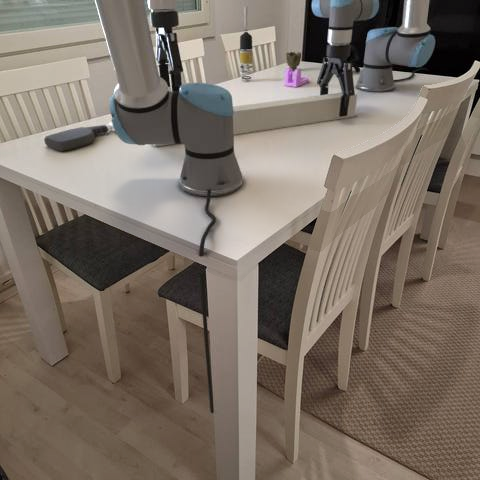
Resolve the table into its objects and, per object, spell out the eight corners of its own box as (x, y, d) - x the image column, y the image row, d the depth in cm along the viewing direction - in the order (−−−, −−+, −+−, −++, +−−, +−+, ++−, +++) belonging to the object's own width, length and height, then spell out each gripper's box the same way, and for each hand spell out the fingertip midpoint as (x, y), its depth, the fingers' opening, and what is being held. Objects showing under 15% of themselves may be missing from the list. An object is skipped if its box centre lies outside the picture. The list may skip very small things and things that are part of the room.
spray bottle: (43, 145, 135) (109, 126, 151) (63, 153, 129) (130, 132, 145) (40, 136, 134) (108, 117, 150) (60, 143, 128) (129, 123, 144)
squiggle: (349, 83, 219) (328, 64, 222) (365, 68, 218) (343, 49, 221) (351, 72, 208) (328, 52, 210) (368, 57, 207) (344, 36, 210)
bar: (154, 146, 133) (151, 122, 129) (150, 141, 137) (147, 117, 133) (354, 116, 155) (357, 95, 151) (346, 112, 160) (348, 91, 156)
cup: (283, 70, 221) (283, 53, 217) (288, 68, 227) (289, 51, 222) (297, 72, 218) (298, 54, 214) (302, 69, 224) (303, 52, 219)
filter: (254, 81, 203) (254, 7, 187) (243, 82, 201) (242, 7, 185) (249, 78, 208) (249, 6, 192) (238, 79, 206) (237, 6, 190)
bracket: (296, 87, 192) (296, 70, 189) (285, 85, 195) (285, 68, 192) (310, 81, 201) (311, 65, 197) (300, 79, 204) (300, 63, 200)
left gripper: (190, 13, 110) (196, 100, 121) (165, 6, 130) (172, 81, 141) (161, 15, 108) (169, 103, 119) (140, 7, 127) (149, 84, 138)
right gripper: (372, 48, 134) (362, 119, 146) (328, 38, 153) (323, 101, 165) (350, 50, 132) (343, 122, 143) (309, 39, 151) (305, 103, 162)
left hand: (171, 92), depth 130 cm, fingers open, 13 cm apart
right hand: (332, 111), depth 154 cm, fingers open, 12 cm apart
